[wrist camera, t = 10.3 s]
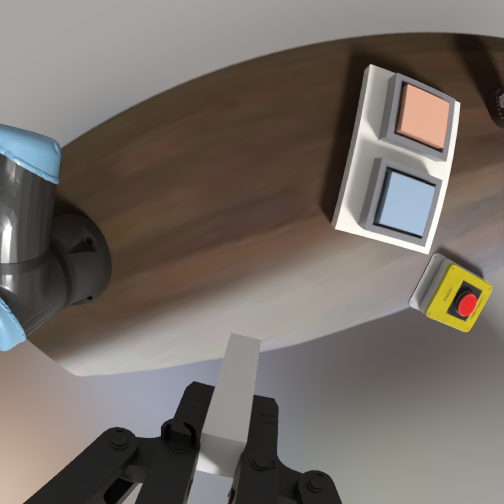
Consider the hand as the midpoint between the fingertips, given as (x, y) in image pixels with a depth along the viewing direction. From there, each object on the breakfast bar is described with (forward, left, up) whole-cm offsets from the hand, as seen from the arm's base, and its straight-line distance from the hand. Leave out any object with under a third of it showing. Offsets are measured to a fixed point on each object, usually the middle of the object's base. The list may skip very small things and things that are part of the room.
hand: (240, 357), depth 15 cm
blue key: (+15, +9, -22) cm, 28 cm away
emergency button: (+32, -2, -27) cm, 42 cm away
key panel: (+15, +15, -26) cm, 34 cm away
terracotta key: (+15, +20, -22) cm, 34 cm away
